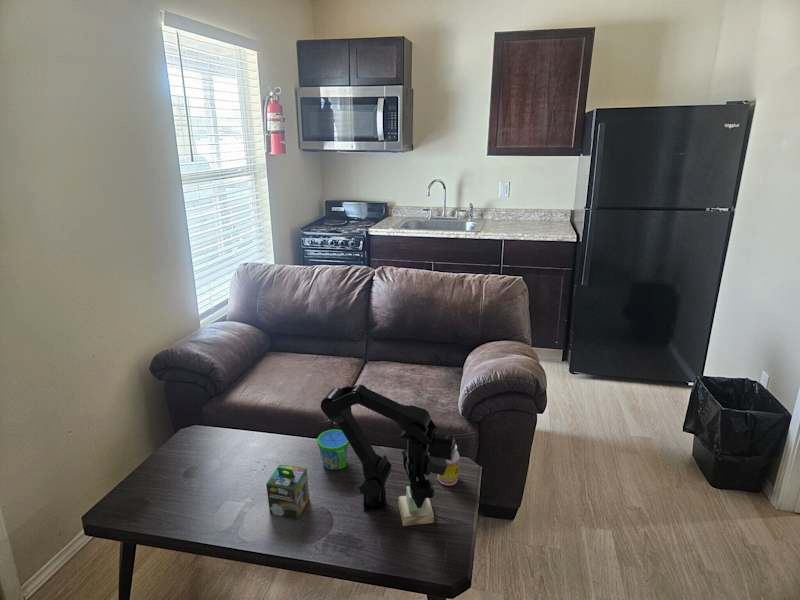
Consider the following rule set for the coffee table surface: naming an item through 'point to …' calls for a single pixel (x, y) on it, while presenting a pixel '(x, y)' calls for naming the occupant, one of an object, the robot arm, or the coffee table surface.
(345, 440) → the snack cup
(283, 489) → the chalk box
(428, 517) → the oak riser block
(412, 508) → the sage cube
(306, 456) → the coffee table surface
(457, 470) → the supplement bottle
